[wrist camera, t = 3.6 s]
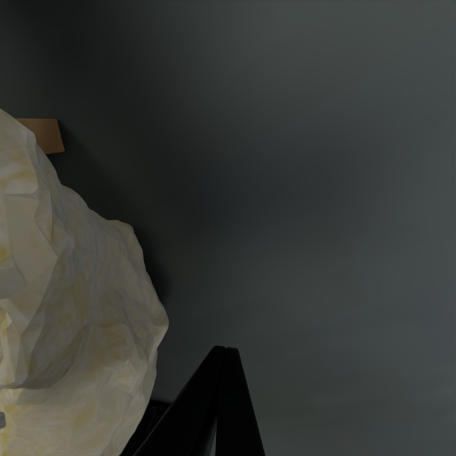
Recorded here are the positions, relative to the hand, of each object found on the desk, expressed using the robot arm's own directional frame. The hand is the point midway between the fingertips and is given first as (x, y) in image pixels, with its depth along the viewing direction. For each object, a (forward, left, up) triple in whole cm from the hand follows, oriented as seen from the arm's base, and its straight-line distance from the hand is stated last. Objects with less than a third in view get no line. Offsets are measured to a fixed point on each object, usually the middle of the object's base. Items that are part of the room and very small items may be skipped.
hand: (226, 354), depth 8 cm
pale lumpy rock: (0, +8, -6) cm, 10 cm away
